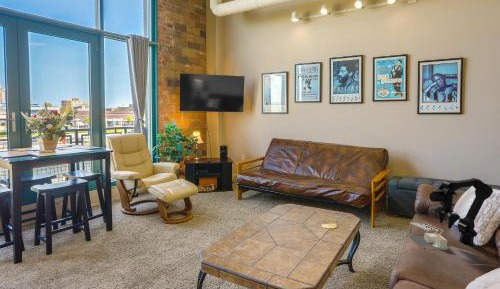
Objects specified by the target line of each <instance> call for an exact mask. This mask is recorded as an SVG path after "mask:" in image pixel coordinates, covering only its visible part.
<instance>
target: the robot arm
mask: <svg viewBox="0 0 500 289" xmlns="http://www.w3.org/2000/svg"><path fill="white" fill-rule="evenodd" d="M468 187H473V188H474V189H475V190H474V195H475V196H474V199H473V201H472V203H471V205H470V207H469V209H468V211H467V213H466V215H465V216H464V217H463V218H462V217H461V216H460V215H459V213H456V212H454V210H453V207H455V204H454V203H453V202H454V195H455V196H456V195H458V194H457V193H456V191H458V190H459V189H463V188H468ZM493 193H494V190H493V187H491V186H490V185H488V184H487V183H484V181H482V180H481V179H479V178H475V177H473V178H468V179H461V180H446V179H445V180H443V181H442V182H441V184H440V185H439V187H438V188H437V189H436V190H432V192H430V194H429V199H430V201H431V202H432V203H439V204H435V205H432V206H431V207H430V208H431V211H432V213H434V214H436V215H437V216H438V217H437V218H438V220H439V224H443V222H444V219H446V220H447V229H451V228H452V227H453V226H454V224H456V222H457V229H458V232H459V233H460V235H459V240H458V241H459V242H460V243H461V244H463V245H465V246H466V245H467V246H472V247H473V246H474V247H475V246H476V244H475V243H474V238H475V237H477V235H478V232H477V231H476V230H475V226H476V224H475V220H476V218H477V216H478V214H479V212H480V211H481V208H482V206H483V204H484V202H485V201H486V200H488V199H489V198H490V197H491V196H492V195H493Z"/></svg>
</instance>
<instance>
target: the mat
mask: <svg viewBox="0 0 500 289" xmlns="http://www.w3.org/2000/svg"><path fill="white" fill-rule="evenodd" d="M408 237H409V238H410V240H412V241H413V242H414V243H416V244H417V245H418V246H419V247H422V246H425V245H426V246H427V245H429V246H431V247H433V246H432V245H433V243H428V242H427V241H426V240H425V239H424V235H408ZM437 251H440V250H439V249H438V250H437ZM447 251H452V252H453V249H452V248H450V247H449V249H448V250H447Z"/></svg>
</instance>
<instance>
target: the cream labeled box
mask: <svg viewBox="0 0 500 289" xmlns="http://www.w3.org/2000/svg"><path fill="white" fill-rule="evenodd" d="M434 233H435V232H433V233H431V232H427V233H426V232H424V233H423V236H424V239H425V240H426V241H427V242H428V243H435V236H442V237H444V236H443V235H441V234H440V233H436V234H434Z"/></svg>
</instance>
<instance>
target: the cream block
mask: <svg viewBox="0 0 500 289" xmlns="http://www.w3.org/2000/svg"><path fill="white" fill-rule="evenodd" d="M442 236H443V235H441V236H435V243H434V244H435V245H437V246H438V247H439V248H447V246H448V239H446V238H445V237H444V236H443V237H442Z"/></svg>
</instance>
